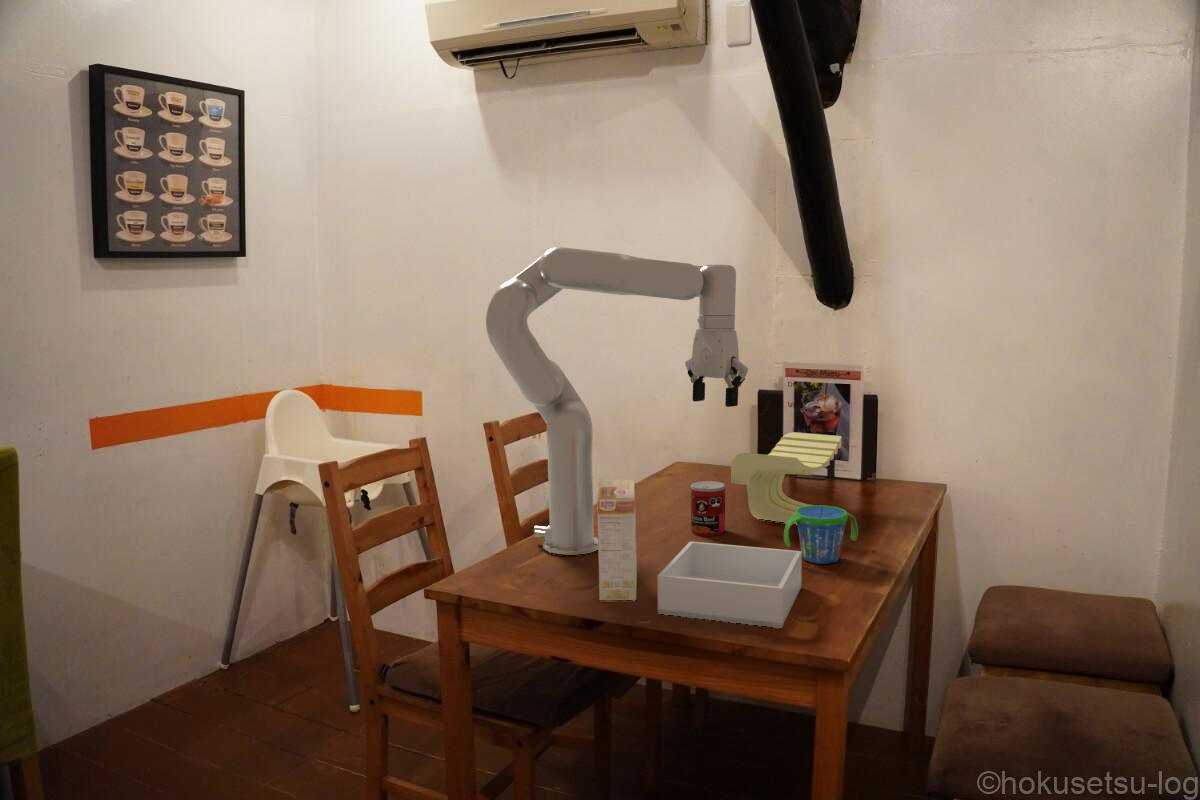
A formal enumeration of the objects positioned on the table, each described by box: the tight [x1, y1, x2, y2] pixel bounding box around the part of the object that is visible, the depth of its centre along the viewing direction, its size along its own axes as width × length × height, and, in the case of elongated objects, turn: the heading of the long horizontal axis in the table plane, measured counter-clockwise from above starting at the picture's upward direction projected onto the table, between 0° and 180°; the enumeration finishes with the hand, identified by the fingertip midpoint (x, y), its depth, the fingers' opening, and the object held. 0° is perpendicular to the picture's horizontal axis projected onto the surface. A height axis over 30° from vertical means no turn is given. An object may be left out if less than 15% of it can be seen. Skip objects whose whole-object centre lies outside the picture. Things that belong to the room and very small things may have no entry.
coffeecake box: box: [596, 478, 638, 602], centre depth 177 cm, size 15×7×20 cm, turn 178°
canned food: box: [690, 480, 726, 537], centre depth 214 cm, size 8×8×11 cm
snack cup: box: [783, 504, 859, 565], centre depth 193 cm, size 16×10×10 cm
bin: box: [657, 540, 803, 629], centre depth 170 cm, size 22×22×7 cm
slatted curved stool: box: [730, 431, 843, 526], centre depth 226 cm, size 30×16×18 cm, turn 147°
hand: (714, 403), depth 201 cm, fingers open, 9 cm apart
